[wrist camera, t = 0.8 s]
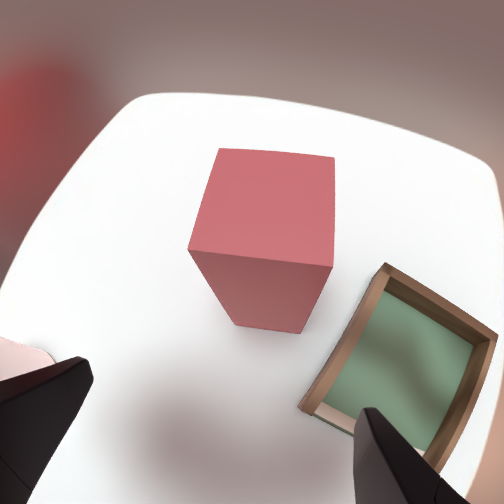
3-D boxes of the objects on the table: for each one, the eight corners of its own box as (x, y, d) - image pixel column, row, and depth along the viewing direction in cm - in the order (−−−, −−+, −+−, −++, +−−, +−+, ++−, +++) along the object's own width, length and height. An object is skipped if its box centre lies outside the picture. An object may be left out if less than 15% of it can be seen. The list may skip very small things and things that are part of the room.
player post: (300, 333, 21) (333, 266, 9) (234, 325, 22) (187, 249, 10) (306, 272, 23) (334, 157, 11) (246, 265, 24) (219, 148, 12)
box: (421, 466, 15) (439, 473, 12) (297, 406, 18) (301, 410, 16) (478, 341, 19) (498, 334, 16) (373, 276, 22) (385, 262, 20)
